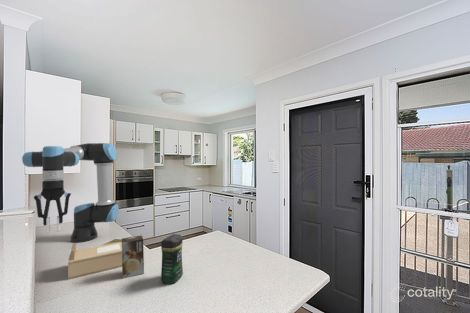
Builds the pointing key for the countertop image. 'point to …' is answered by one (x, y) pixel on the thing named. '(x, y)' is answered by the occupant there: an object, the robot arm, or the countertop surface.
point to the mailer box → (94, 265)
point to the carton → (113, 241)
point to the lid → (94, 251)
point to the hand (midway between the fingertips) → (53, 231)
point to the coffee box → (132, 256)
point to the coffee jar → (171, 259)
